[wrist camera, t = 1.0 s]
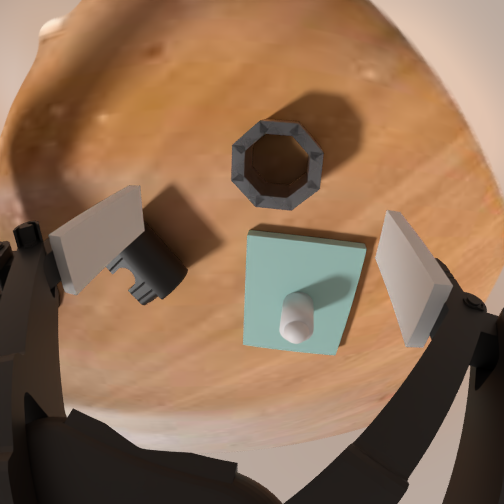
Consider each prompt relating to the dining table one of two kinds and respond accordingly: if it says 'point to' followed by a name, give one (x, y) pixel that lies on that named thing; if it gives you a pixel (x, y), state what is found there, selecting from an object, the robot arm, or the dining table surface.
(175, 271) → the end cap
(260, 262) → the post stand
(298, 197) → the collar
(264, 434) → the dining table surface
